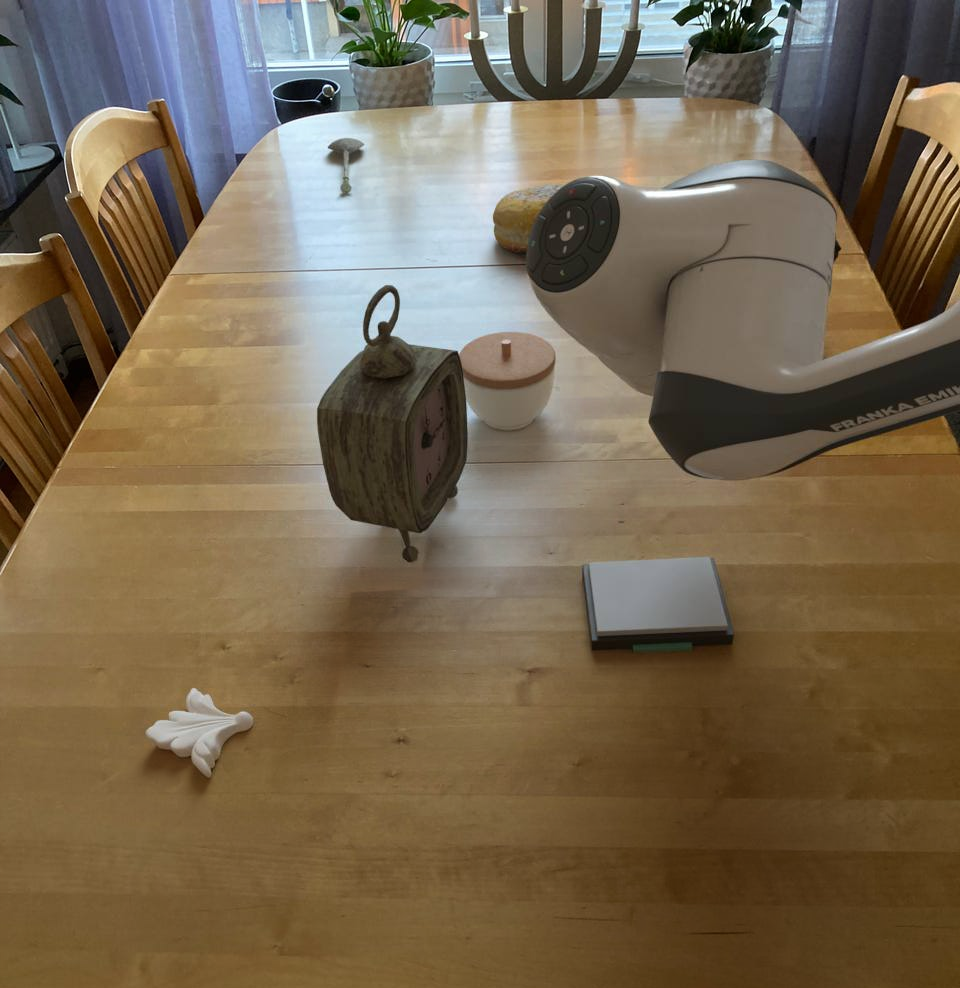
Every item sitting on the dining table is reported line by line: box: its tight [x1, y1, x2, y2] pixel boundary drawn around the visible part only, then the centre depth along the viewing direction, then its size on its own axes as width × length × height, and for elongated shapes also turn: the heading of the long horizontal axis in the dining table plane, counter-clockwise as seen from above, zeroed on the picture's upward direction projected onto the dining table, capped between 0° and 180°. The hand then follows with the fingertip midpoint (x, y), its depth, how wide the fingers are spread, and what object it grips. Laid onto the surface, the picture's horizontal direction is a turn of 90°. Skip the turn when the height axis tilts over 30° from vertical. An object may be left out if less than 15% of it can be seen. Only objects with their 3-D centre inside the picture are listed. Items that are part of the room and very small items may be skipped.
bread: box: [492, 183, 565, 254], centre depth 143 cm, size 13×26×8 cm, turn 77°
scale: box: [581, 556, 735, 654], centre depth 89 cm, size 12×10×4 cm
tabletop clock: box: [316, 284, 469, 563], centre depth 94 cm, size 14×9×25 cm, turn 160°
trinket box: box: [458, 331, 557, 432], centre depth 112 cm, size 11×11×9 cm
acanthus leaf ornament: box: [145, 687, 254, 779], centre depth 83 cm, size 8×7×2 cm
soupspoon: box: [327, 137, 365, 194], centre depth 172 cm, size 22×3×7 cm
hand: (719, 391), depth 85 cm, fingers closed on tumbler, 6 cm apart
